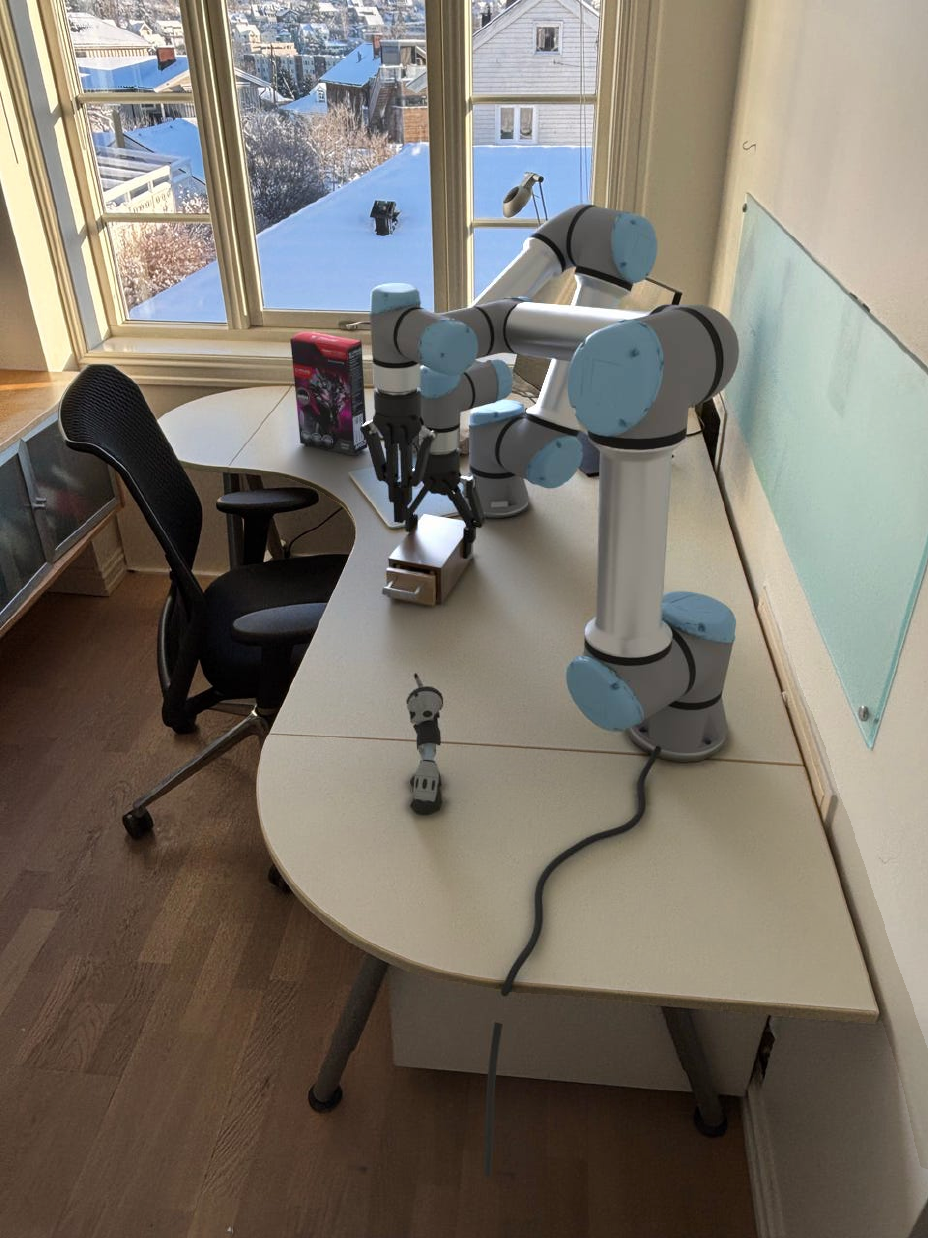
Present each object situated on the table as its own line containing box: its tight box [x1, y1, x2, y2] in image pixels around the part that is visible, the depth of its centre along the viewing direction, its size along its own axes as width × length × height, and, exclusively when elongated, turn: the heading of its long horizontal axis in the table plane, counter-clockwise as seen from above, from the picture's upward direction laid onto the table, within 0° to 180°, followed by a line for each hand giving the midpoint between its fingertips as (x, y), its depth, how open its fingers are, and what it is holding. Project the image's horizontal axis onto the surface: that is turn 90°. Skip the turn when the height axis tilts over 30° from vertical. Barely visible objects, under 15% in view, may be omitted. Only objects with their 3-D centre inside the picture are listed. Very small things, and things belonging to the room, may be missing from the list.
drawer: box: [381, 564, 437, 607], centre depth 175 cm, size 23×9×6 cm, turn 161°
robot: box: [405, 673, 444, 816], centre depth 125 cm, size 20×5×20 cm, turn 3°
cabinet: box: [387, 513, 474, 605], centre depth 179 cm, size 19×10×8 cm, turn 161°
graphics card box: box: [289, 330, 368, 456], centre depth 225 cm, size 17×7×27 cm, turn 62°
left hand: (440, 550), depth 183 cm, fingers closed on cabinet, 10 cm apart
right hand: (401, 519), depth 159 cm, fingers closed
